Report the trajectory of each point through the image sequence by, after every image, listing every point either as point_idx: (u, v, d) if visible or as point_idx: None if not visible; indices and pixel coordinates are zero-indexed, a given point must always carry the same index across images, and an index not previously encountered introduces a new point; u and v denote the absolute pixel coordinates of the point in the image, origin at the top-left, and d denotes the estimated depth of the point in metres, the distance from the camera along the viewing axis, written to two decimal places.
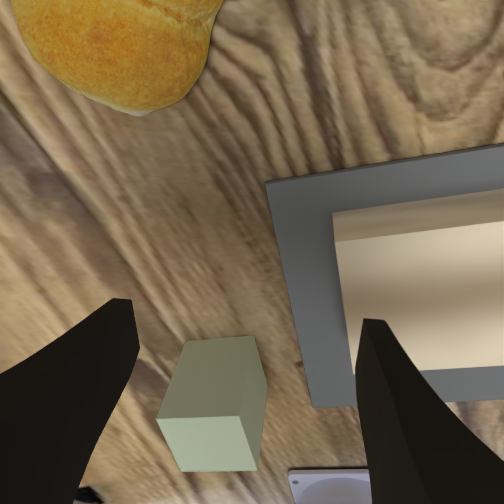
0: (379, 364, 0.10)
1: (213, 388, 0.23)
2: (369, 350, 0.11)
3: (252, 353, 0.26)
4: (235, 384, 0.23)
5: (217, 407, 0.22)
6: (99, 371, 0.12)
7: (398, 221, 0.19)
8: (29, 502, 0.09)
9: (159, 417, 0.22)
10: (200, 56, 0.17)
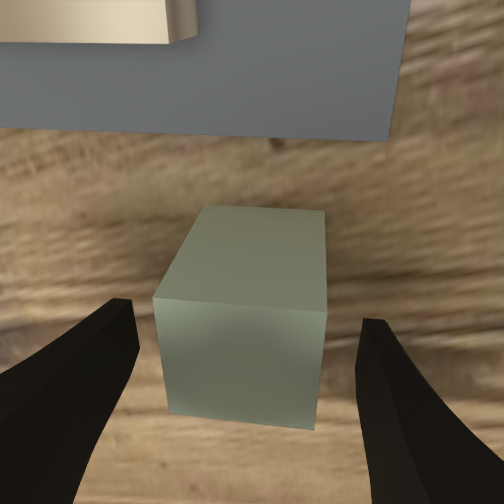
0: (379, 364, 0.10)
1: None
2: (369, 350, 0.11)
3: (208, 218, 0.15)
4: None
5: None
6: (99, 371, 0.12)
7: None
8: (29, 502, 0.09)
9: None
10: None
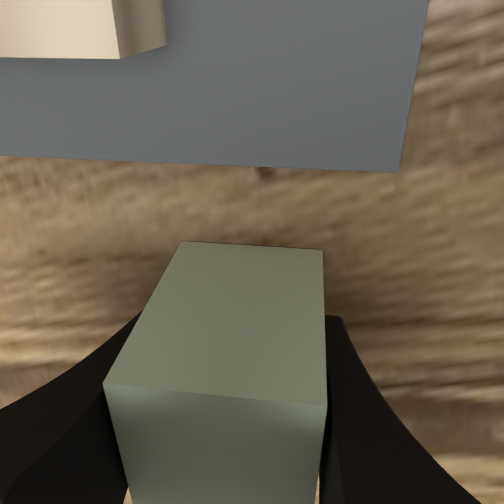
0: None
1: None
2: None
3: (184, 261, 0.13)
4: None
5: None
6: None
7: None
8: None
9: None
10: None
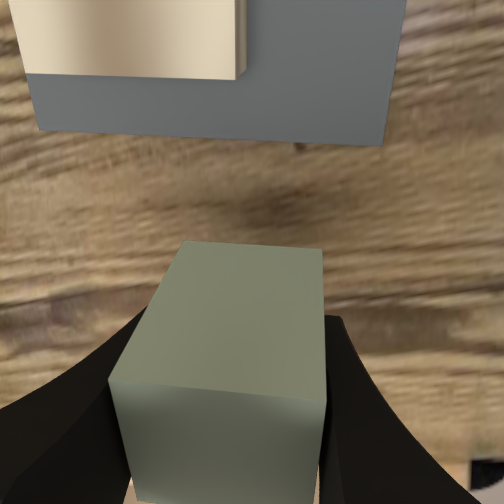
0: (325, 359, 0.10)
1: None
2: None
3: (186, 260, 0.13)
4: None
5: None
6: None
7: None
8: None
9: None
10: None
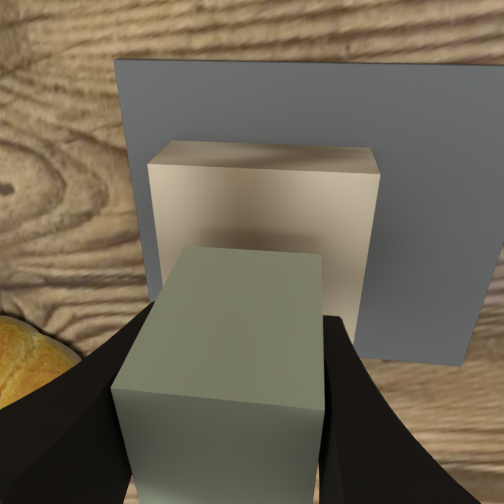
0: (325, 359, 0.10)
1: None
2: None
3: (186, 266, 0.13)
4: None
5: None
6: None
7: None
8: None
9: None
10: (49, 357, 0.24)
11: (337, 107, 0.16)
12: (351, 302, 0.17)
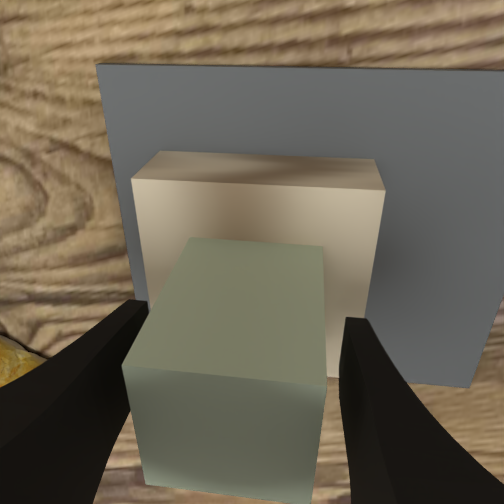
0: (357, 362, 0.10)
1: None
2: (349, 348, 0.11)
3: (192, 256, 0.14)
4: None
5: None
6: (117, 373, 0.11)
7: None
8: None
9: None
10: None
11: (338, 116, 0.15)
12: None
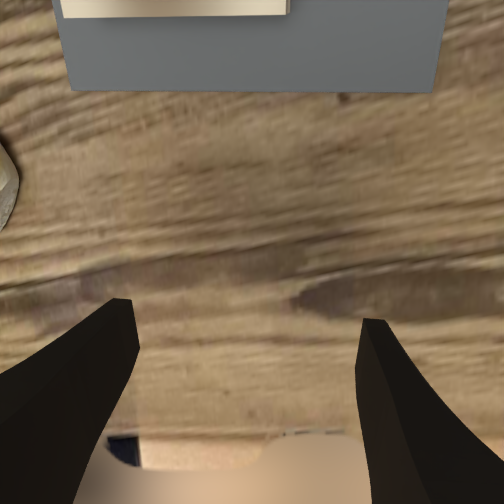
0: (379, 364, 0.10)
1: None
2: (369, 350, 0.11)
3: None
4: None
5: None
6: (99, 371, 0.12)
7: None
8: (29, 502, 0.09)
9: None
10: None
11: None
12: None
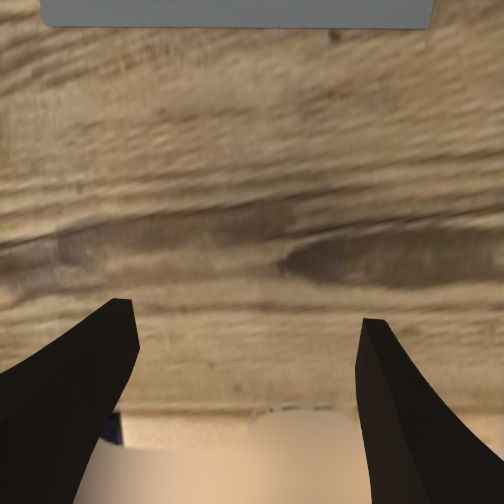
0: (379, 364, 0.10)
1: None
2: (369, 350, 0.11)
3: None
4: None
5: None
6: (99, 371, 0.12)
7: None
8: (29, 502, 0.09)
9: None
10: None
11: None
12: None
